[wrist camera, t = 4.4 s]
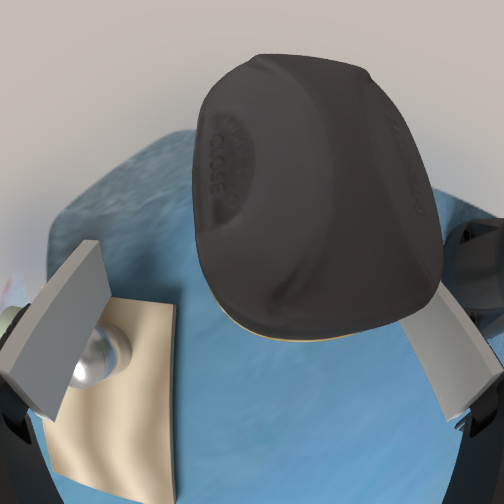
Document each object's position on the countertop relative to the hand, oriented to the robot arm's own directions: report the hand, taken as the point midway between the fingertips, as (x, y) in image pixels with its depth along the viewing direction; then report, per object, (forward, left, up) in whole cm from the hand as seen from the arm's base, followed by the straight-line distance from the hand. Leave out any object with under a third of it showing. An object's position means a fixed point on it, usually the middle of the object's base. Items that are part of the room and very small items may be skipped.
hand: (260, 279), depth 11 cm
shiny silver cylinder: (+11, +5, -11) cm, 17 cm away
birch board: (+13, +11, -13) cm, 21 cm away
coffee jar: (-1, -3, -13) cm, 13 cm away
